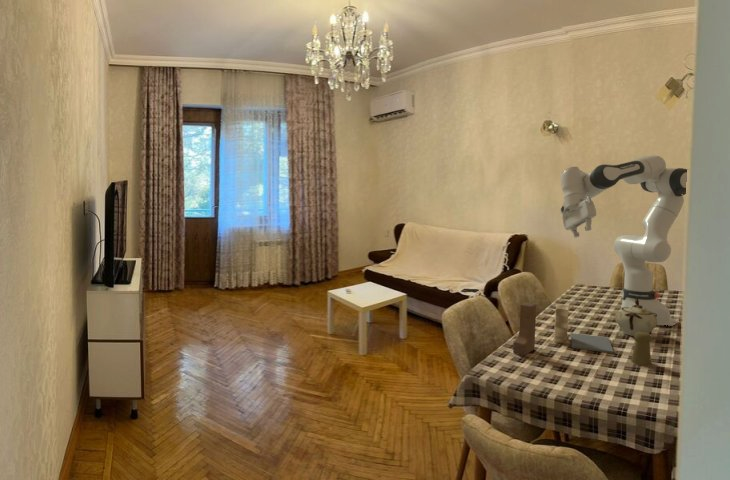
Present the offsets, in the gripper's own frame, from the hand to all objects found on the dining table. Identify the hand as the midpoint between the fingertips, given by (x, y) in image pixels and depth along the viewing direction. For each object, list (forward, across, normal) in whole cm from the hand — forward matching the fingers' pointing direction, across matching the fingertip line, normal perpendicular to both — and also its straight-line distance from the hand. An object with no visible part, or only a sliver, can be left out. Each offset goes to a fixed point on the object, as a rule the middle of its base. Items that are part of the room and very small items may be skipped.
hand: (582, 233), depth 180 cm
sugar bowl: (+42, +12, -20) cm, 48 cm away
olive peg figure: (+53, -14, -3) cm, 55 cm away
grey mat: (+45, +3, +4) cm, 45 cm away
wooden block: (+46, -3, +34) cm, 58 cm away
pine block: (+43, +6, +14) cm, 46 cm away
